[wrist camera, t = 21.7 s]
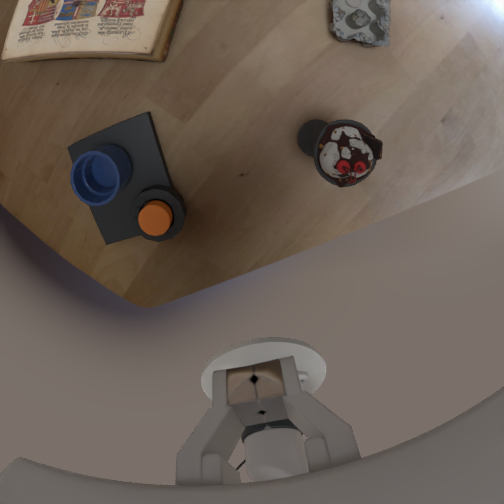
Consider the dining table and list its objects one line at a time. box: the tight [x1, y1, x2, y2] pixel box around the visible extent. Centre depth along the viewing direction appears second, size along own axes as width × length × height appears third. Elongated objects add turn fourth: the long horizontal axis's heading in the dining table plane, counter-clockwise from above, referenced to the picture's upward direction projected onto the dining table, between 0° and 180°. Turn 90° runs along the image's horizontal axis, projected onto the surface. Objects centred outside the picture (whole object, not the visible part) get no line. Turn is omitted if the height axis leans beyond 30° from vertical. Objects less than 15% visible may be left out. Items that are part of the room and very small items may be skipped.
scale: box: [68, 112, 186, 245], centre depth 33 cm, size 16×13×3 cm
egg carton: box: [329, 0, 391, 47], centre depth 23 cm, size 11×8×4 cm
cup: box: [71, 144, 132, 206], centre depth 30 cm, size 6×6×5 cm
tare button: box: [138, 200, 172, 236], centre depth 34 cm, size 4×4×2 cm
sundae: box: [298, 120, 383, 187], centre depth 27 cm, size 7×7×15 cm
